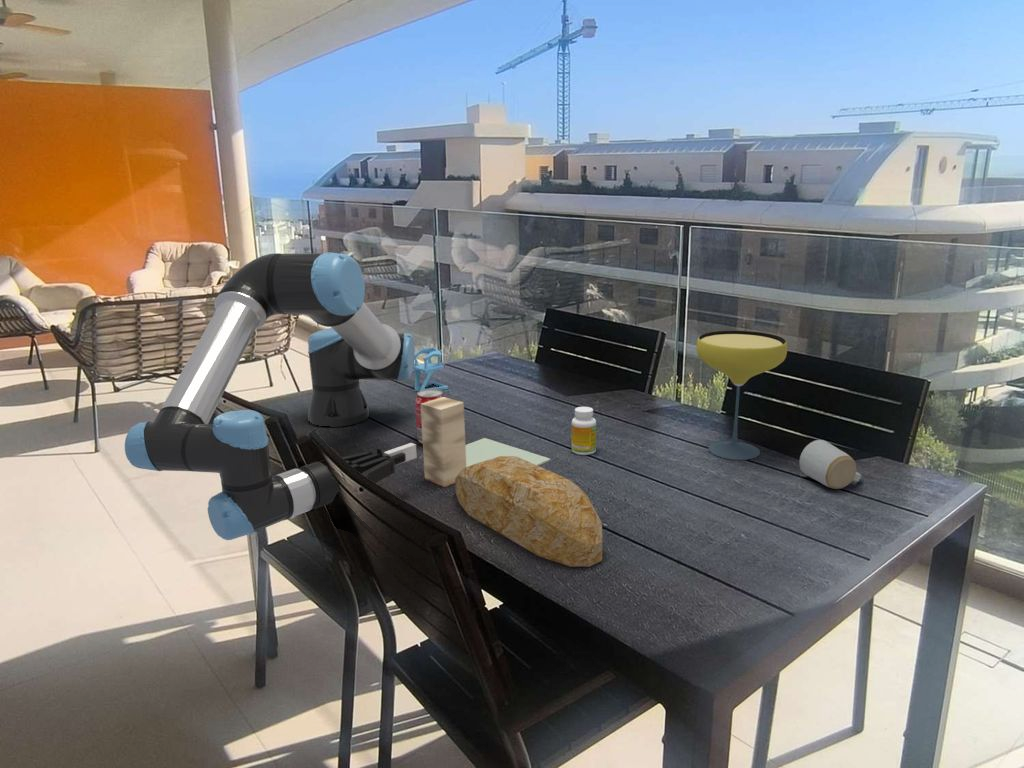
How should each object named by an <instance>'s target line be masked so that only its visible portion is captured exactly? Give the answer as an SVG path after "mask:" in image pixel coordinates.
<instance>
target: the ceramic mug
mask: <svg viewBox="0 0 1024 768" xmlns="http://www.w3.org/2000/svg"><path fill="white" fill-rule="evenodd" d="M798 462H799V468H800V470H801V472H802V473H804V475H806V476H808V477H809V478H811V479H813V480H814V481H817V482H818V483H820V484H822V485H824V486H825V487H827V488H831V489H833V490H840V489H844V488H845V487H847V486H849V485H850V484H851V482H854V483H858V482H860V480H861V478H862V474H860V473H859V472H858V471H857V463H856V461H855V460H854V458H853V457H852V456H850V455H849V454H848V453H847V452H845V451H843V450H841V449H839V448H838V447H836V446H835V445H833V444H831V443H830V442H828V441H826V440H824V439H817V440H813V441H811V442H809V443H808V444H807V445H806V446H805V447H804V448H803V450H802V452H800V456H799V460H798Z"/></svg>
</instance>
